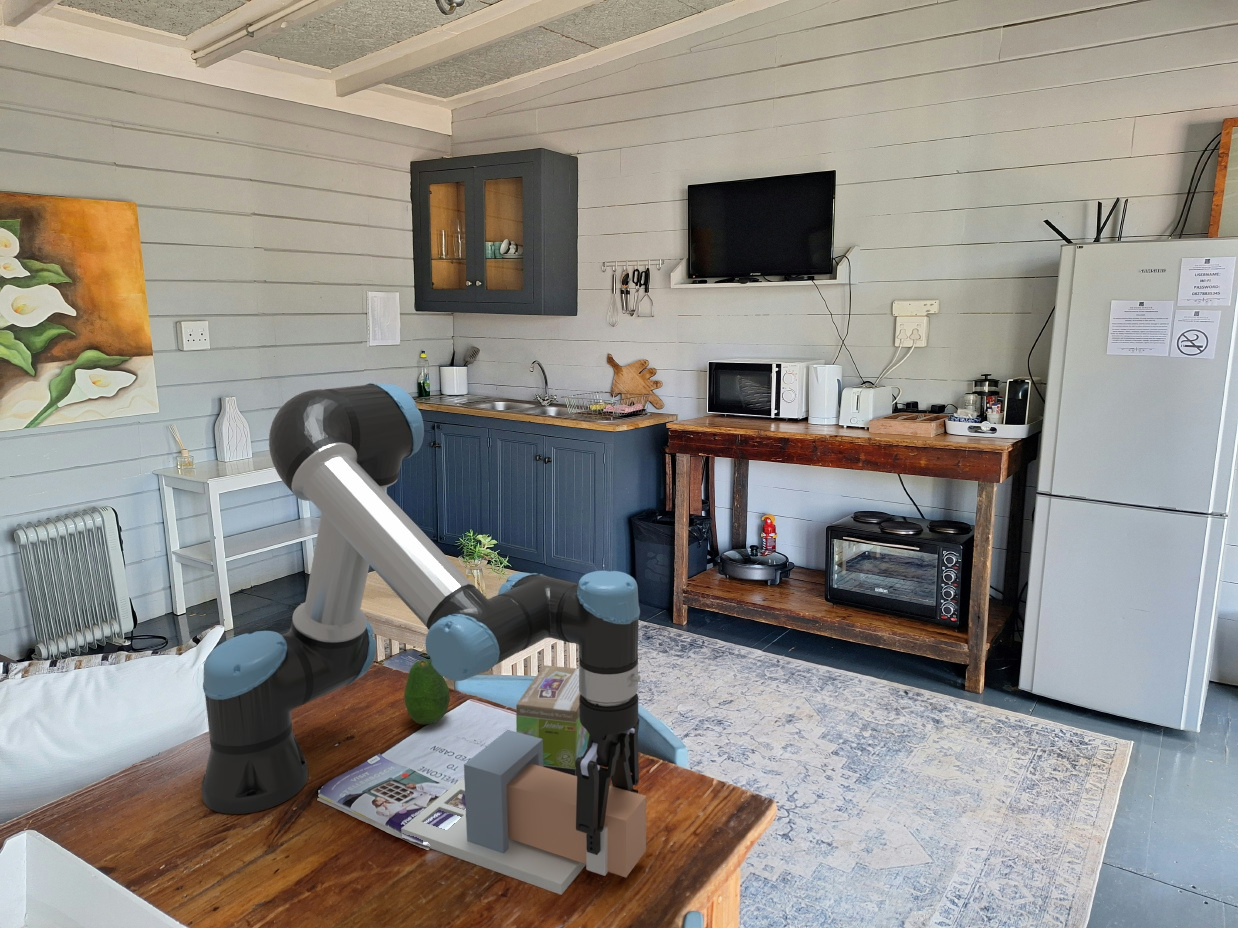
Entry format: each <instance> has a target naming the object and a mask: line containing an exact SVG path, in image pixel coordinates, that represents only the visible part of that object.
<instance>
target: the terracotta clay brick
mask: <svg viewBox="0 0 1238 928" xmlns="http://www.w3.org/2000/svg"><path fill="white" fill-rule="evenodd" d="M576 801H577V776H574V775H570V774H567V773H563V772H559V771H556V770H552V769H549V768H545V767H542V766H538V765H535V764H531V763H530V764H529V765H528V766H527V767H526V768H524V769H523V770H522V771H521V772H520V773H519V774H518V775H517V776H515V777H514V778H513V779H512V780H511V781H510V782H509V783H508V784H507V813H508V838H509V839H512V840H515V841H518V842H521V843H524V844H527V845H530V846H533V847H536V848H539V849H542V850H545V851H548V852H551V853H554V854H557V855H560V856H563V857H566V858H569V859H572V860H575V861H578V862H581V863H584V864H586V833H583V832H580V831H577V830H576ZM604 826H606V827H608V873H611V874H614V875H617V876H621V877H623V878H628V876H629V874H630V873H631V871H632V870H633V869H634V868H635V866H636V865H637V863H639V861H640V859H641V858H642V857H643V855H644V854H645V853H646V851H647V795H645V794H641V793H638V794H637V793H634V792H630V791H627V790H623V789H620V788H616V787H613V785H609V792H608V800H607V807H606V814H605V822H604Z"/></svg>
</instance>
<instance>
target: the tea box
mask: <svg viewBox="0 0 1238 928" xmlns="http://www.w3.org/2000/svg"><path fill="white" fill-rule="evenodd" d="M580 694H581V693H580V692H579V667H578V668H574V667H564V666H557V665H556V666H555V665H547V664H544V665H543V666H542V667H541V669H540V670H539V672H538V673H537V674H536V676H535V677H534V678H533V680H532V682H531V683H530V684H529V686H527V689H526V690H525V691H524V693H523V694H522V695H521V697H520V698H519V700H518V701H517V702H516V709H515V710H516V712H515V713H516V714H515V715H516V717H515V718H516V722H515V723H516V724H515V725H516V730H515V732H518V733H522V734H526V735H529V736H533V737H537V738H541V739H543V767H545V768H549V769H552V770H556V771H559V772H563V773H567V774H570V775H574V776H577V772H576V767H575V762H576V759H577V758H578V757H580V758H585V756H586V754H587V753H588V750H587V745H588V740H589V733H588V731H587V730H586V729H585V728H584V727H583V726H582V724H581V722H580V718H579V697H580Z"/></svg>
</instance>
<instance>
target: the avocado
mask: <svg viewBox="0 0 1238 928" xmlns="http://www.w3.org/2000/svg"><path fill="white" fill-rule="evenodd" d="M431 663H432V660H431V659H419V660H417V661H415V663H414V664H413V665H411V668H410V669H409V672H408V675H407V676H408V677H407V680H406V684H405V689H404V693H403V695H404V696H403V697H404V705H405V707H406V710H407V713H408V714H409V717H410V718H411V719H412V720H413V721H414V722H416V723H417V724H420V725H422V726H423V725H430V724H433V723H434V724H435V723H436V722H438V721H439V720H441V718H443V717H444V715H445V714H446V713H447V710H448V709H449V704H450V700H451V697H450V688H449V686H448V683H447V681H446V678H445V677H443V676H441V675H440V674H439V673H438V672H437V671H436V670H435V669H434V667H433V666H432V664H431Z"/></svg>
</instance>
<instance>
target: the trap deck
mask: <svg viewBox="0 0 1238 928" xmlns="http://www.w3.org/2000/svg"><path fill="white" fill-rule="evenodd" d="M530 763H531V764H535V765H538V766H542V767H543V739H541V738H537V737H533V736H529V735H526V734H522V733H518V732H516V731H513V730H510V729H506V730H505V731H504V732H503V733H502V734H500V735H499V736H498V737H496V738H495V739H494V740H492V742H490V743H489V744H488V745H486V746H485V747H484V748H482V749H481V750H480V751H479V752H478V753H476V754H475V755H474V756H472V757H471V758H470V759H469V760H467V761H466V762H465V763H464V764H463V771H464V772H463V773H464V775H463V776H464V777H463V778H461V779H460V780H459V781H458V782H456V783H455V784H454V785H452V787H450V788H448V790H447V791H445V792H444V793H443V794H441V795H440V796H439V797H438V798H436V799H435V800H434V801H433V802H432V803H430V804H429V805H428V806H427V807H426V808H424V809H423V810H422V811H420V812H419V813H418V814H417V815H416V816H415V817H413V818H412V819H411V820H410V821H408V822H407V823H405V825H404V826H402V827H401V828H400V830H401V834H402V833H404V834H406V835H410V836H414V837H417V838H419V839H421V840H423V841H424V842H428V843H429V844H430V845H431V846H430V848H429V849H432V850H434V851H437V852H440V853H442V854H446V855H448V856H452V857H454V858H456V859H460V860H463V861H466V862H468V863H471V864H473V865H477V866H480V867H481V868H485V869H488V870H490V871H493V872H496V873H499V874H502V875H504V876H508V877H509V878H513V879H515V880H519V881H520V882H521V881H522V882H524V883H527V884H530V885H532V886H535V887H538V888H541V889H544V890H546V891H550V892H553V893H554V894H555V893H556V894H558V895H560V896H561V895H563V894H564V892H565V891H566V890H567V889H568V888H569V886H570V885H571V884H572V883H573V881H574V880H575V879H576V878H577V876H578V875H579V874H580V873H581V872H582V871H583V869H584V868H585V867H586V864H584V863H581V862H578V861H575V860H572V859H569V858H566V857H563V856H560V855H557V854H554V853H551V852H548V851H545V850H542V849H539V848H536V847H533V846H530V845H527V844H524V843H521V842H518V841H515V840H512V839H509V838H508V813H507V784H508V783H509V782H510V781H511V780H512V779H513V778H514V777H515V776H517V775H518V774H519V773H520V772H521V771H522V770H523V769H524V768H526V767H527V766H528V765H529V764H530ZM459 794H464V795H465V803H466V810H463V809H460V808H457V807H454V806H451V805H448V803H449V802H450V801H452V800H453V799H454V798H455V797H457V796H458V795H459ZM438 810H441V811H444V812H447V813H450V814H453V815H457V816H460V817H461V818H460V819H459V820H458V821H457V822H456V823H454V824H453V825H452V826H451V827H450V828H449V829H448V830H445V829H442V828H439V827H436V826H433V825H430V824H427V823H424V821H426V820H427V819H428V818H430V817H431V816H432V815H434V814H435V813H436V812H437V811H438Z"/></svg>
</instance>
